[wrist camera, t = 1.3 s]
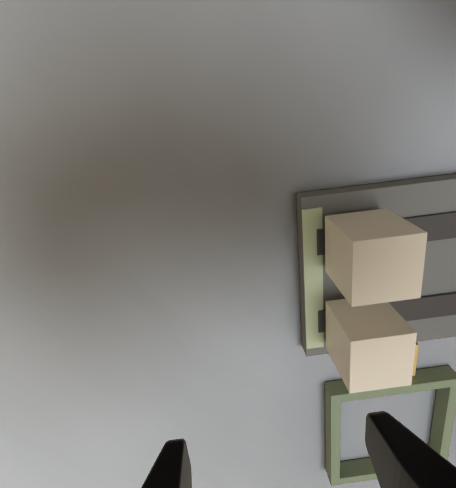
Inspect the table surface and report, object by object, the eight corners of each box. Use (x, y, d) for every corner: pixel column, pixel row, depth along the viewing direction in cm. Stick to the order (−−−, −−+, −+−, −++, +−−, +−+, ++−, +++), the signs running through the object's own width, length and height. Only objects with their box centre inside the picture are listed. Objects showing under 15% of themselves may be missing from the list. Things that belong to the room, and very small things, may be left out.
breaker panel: (504, 167, 19) (523, 171, 18) (477, 322, 22) (491, 333, 21) (296, 193, 18) (302, 198, 17) (302, 345, 22) (307, 358, 21)
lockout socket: (453, 333, 22) (466, 345, 21) (435, 453, 26) (445, 469, 25) (324, 350, 22) (330, 363, 21) (325, 469, 26) (331, 485, 25)
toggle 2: (380, 294, 19) (416, 332, 16) (378, 339, 20) (411, 385, 17) (325, 301, 19) (350, 341, 16) (325, 347, 20) (349, 393, 17)
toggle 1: (385, 208, 17) (427, 232, 14) (382, 263, 19) (420, 298, 15) (324, 215, 17) (353, 241, 14) (325, 271, 19) (351, 306, 15)
